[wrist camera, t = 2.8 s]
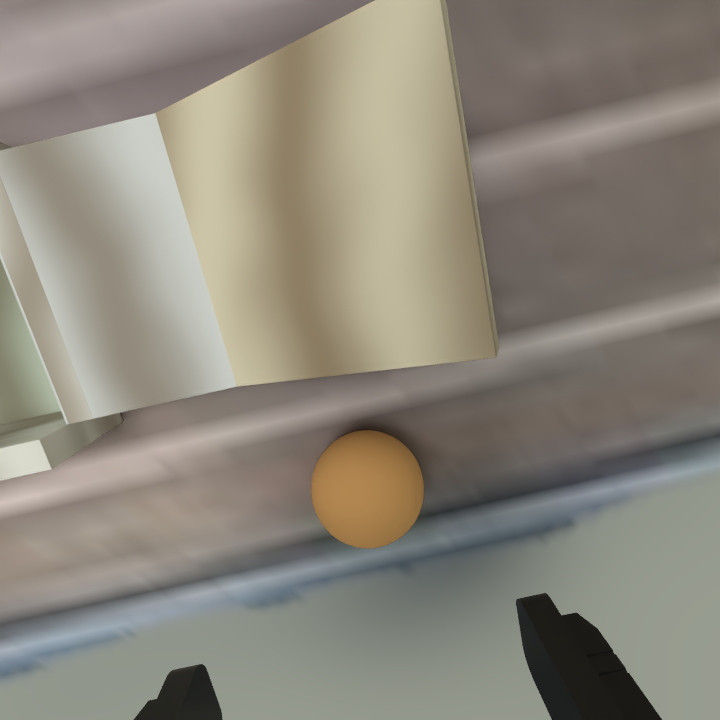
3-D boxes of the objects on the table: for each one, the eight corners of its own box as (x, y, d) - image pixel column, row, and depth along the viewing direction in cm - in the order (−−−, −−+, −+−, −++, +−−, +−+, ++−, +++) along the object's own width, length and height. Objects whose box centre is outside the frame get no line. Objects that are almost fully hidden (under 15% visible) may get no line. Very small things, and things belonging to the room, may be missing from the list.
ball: (404, 405, 21) (421, 447, 16) (422, 495, 22) (444, 561, 17) (304, 427, 21) (291, 475, 16) (328, 515, 22) (322, 587, 17)
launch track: (405, 59, 17) (451, -113, 10) (456, 346, 20) (524, 396, 12) (-178, 199, 18) (-586, 145, 10) (-54, 460, 21) (-301, 578, 13)
